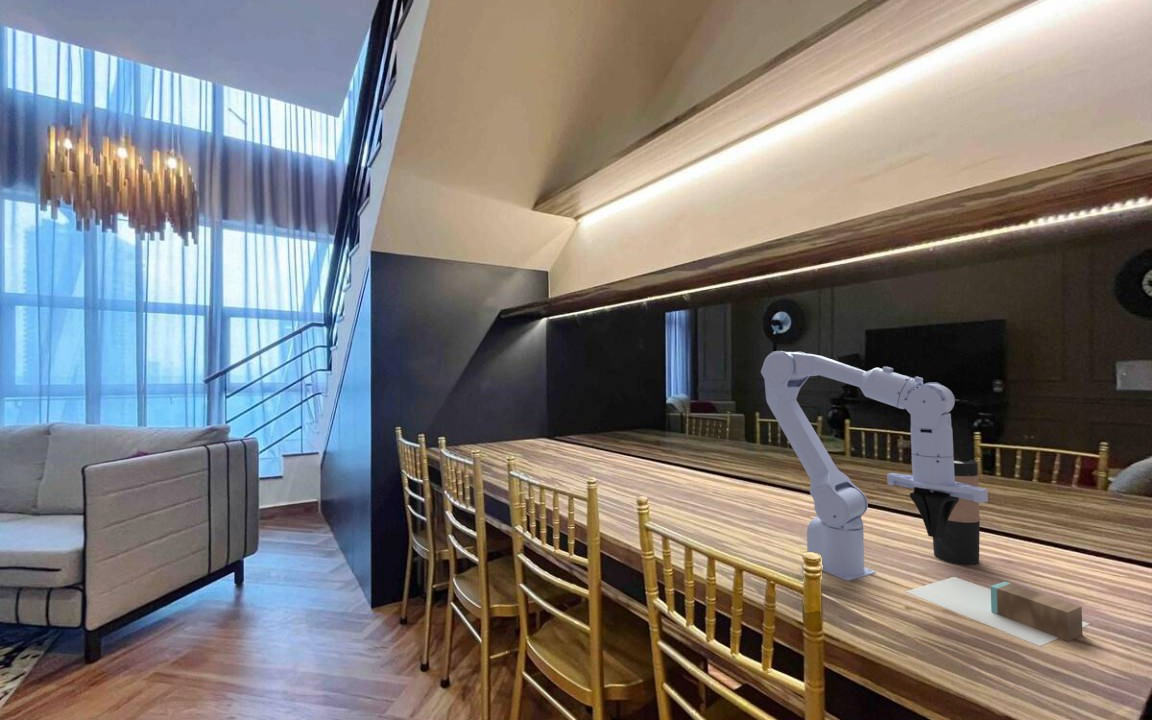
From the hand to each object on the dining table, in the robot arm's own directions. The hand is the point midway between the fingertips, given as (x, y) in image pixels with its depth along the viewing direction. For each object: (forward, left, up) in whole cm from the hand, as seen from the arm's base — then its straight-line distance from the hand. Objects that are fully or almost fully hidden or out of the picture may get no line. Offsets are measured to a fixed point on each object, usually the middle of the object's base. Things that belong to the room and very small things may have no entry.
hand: (935, 536), depth 81 cm
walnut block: (+7, +4, -8) cm, 11 cm away
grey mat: (+6, +4, -10) cm, 12 cm away
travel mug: (-8, +21, -11) cm, 25 cm away
